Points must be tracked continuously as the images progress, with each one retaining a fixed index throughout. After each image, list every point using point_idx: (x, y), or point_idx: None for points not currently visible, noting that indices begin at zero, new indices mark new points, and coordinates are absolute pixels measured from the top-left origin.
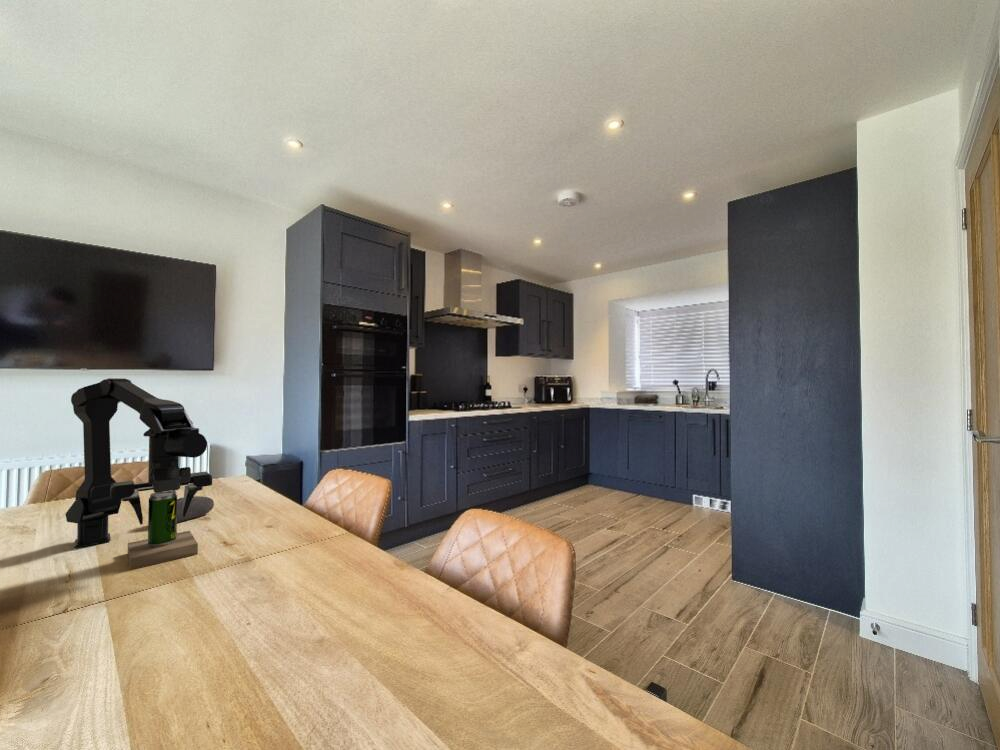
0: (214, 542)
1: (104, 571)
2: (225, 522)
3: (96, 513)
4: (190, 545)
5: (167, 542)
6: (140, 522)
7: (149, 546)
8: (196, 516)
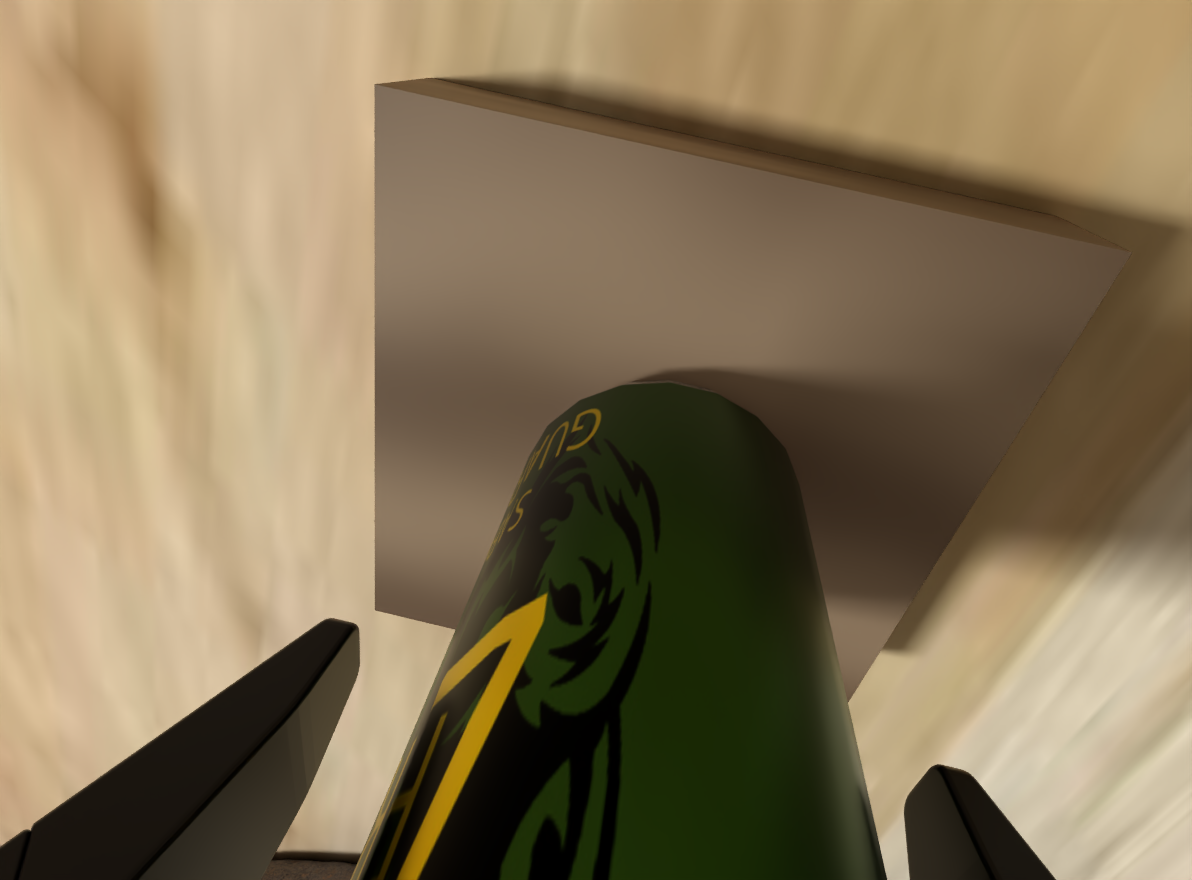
0: (242, 313)
1: (1173, 403)
2: (146, 679)
3: None
4: (464, 104)
5: (651, 385)
6: (988, 805)
7: None
8: (297, 864)
